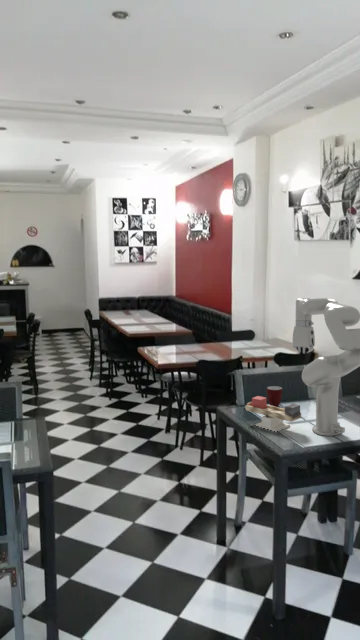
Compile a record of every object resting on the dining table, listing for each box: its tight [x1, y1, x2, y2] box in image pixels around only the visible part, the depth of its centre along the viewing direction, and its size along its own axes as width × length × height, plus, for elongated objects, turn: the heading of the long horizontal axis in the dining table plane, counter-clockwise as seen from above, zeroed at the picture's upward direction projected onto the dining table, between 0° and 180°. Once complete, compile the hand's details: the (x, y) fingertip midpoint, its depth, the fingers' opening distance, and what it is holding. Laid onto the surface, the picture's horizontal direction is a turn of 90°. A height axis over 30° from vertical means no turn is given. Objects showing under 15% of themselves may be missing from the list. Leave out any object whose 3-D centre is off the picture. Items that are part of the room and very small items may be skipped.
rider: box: [251, 395, 268, 409], centre depth 247 cm, size 5×5×5 cm
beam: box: [245, 401, 302, 423], centre depth 241 cm, size 26×9×7 cm, turn 44°
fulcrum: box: [254, 415, 291, 433], centre depth 242 cm, size 12×11×5 cm
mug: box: [266, 385, 283, 407], centre depth 273 cm, size 10×8×10 cm
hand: (302, 360), depth 249 cm, fingers closed
